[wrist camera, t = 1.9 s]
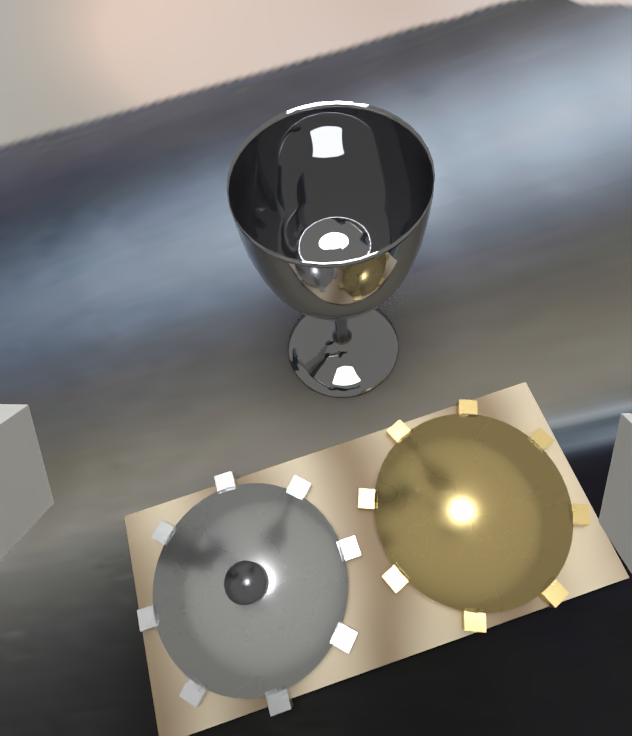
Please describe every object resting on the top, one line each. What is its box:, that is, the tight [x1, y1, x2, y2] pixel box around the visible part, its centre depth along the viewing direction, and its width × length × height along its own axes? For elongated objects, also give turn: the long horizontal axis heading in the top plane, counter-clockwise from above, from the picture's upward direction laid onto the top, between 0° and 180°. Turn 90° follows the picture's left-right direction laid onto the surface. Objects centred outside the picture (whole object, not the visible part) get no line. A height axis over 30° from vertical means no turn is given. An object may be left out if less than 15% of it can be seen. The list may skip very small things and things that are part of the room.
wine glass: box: [227, 101, 435, 398], centre depth 26 cm, size 8×8×15 cm
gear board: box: [124, 382, 629, 736], centre depth 27 cm, size 24×12×4 cm, turn 108°
